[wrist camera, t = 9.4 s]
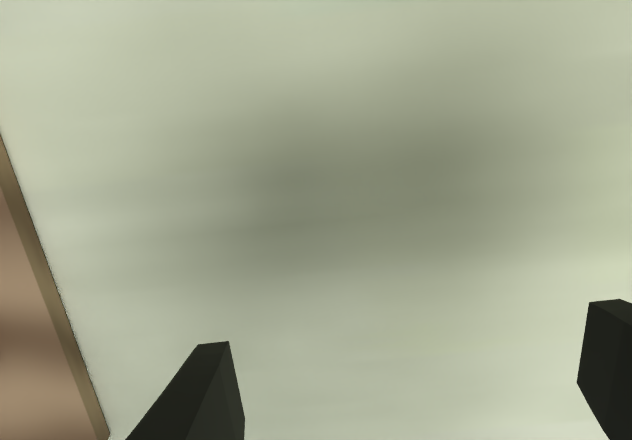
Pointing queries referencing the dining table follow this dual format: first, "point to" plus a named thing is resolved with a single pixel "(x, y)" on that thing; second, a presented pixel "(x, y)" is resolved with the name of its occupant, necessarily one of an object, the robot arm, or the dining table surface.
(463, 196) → the dining table surface
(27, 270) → the hinge rail
